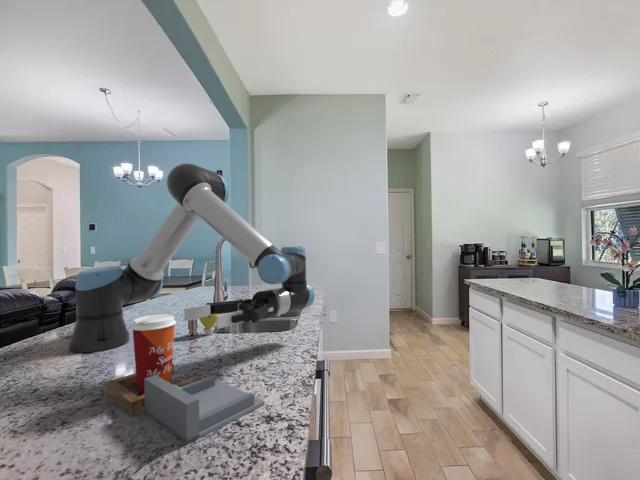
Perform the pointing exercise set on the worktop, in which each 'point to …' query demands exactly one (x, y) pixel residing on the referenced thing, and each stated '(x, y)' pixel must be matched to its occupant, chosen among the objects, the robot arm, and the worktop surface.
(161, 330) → the coffee cup
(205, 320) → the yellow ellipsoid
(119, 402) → the wooden u-shaped frame
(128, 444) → the worktop surface
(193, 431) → the port dock
